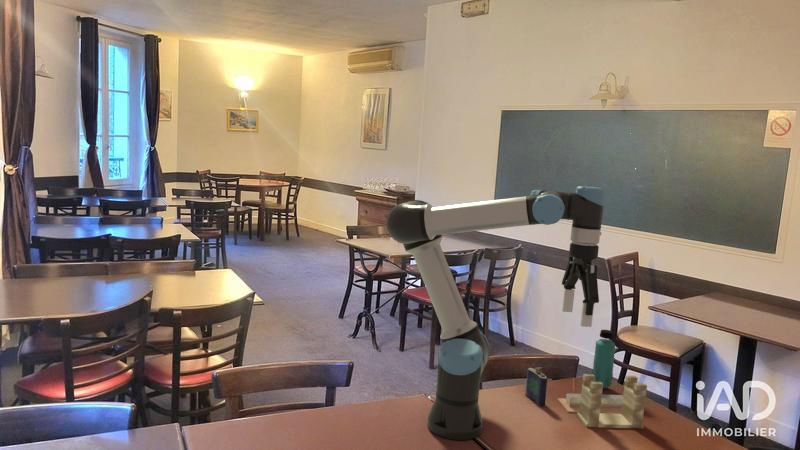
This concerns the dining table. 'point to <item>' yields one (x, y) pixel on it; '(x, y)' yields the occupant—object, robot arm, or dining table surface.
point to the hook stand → (593, 417)
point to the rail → (606, 400)
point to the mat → (576, 409)
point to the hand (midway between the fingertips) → (576, 318)
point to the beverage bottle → (604, 359)
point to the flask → (536, 386)
